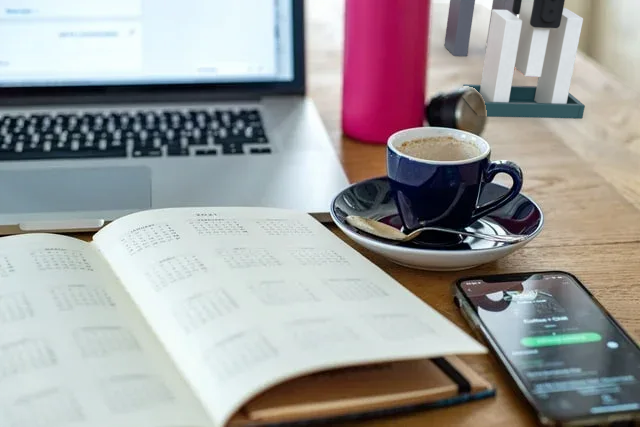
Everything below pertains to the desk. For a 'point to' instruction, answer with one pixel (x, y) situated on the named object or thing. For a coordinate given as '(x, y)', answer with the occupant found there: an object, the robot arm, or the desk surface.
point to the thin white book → (530, 43)
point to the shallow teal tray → (532, 105)
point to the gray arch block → (466, 23)
